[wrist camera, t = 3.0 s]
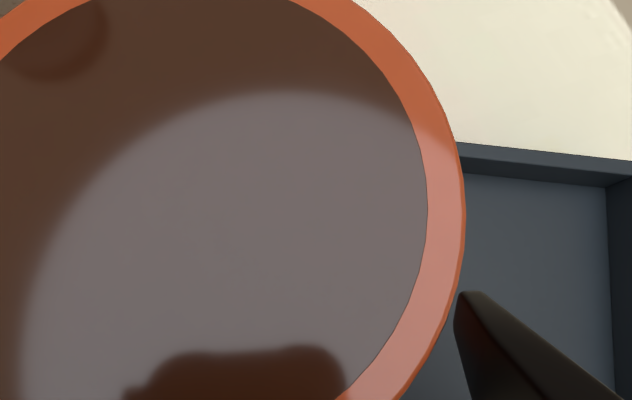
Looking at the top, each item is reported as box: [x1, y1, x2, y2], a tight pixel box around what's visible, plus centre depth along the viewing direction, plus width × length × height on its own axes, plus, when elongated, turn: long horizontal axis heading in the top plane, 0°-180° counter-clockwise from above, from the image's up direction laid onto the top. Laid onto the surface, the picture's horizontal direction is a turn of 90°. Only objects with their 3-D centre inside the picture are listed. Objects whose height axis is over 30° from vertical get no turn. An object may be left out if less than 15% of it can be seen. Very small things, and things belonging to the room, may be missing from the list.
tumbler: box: [0, 0, 467, 400], centre depth 12 cm, size 7×7×13 cm
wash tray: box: [399, 142, 632, 400], centre depth 18 cm, size 19×11×2 cm, turn 84°
